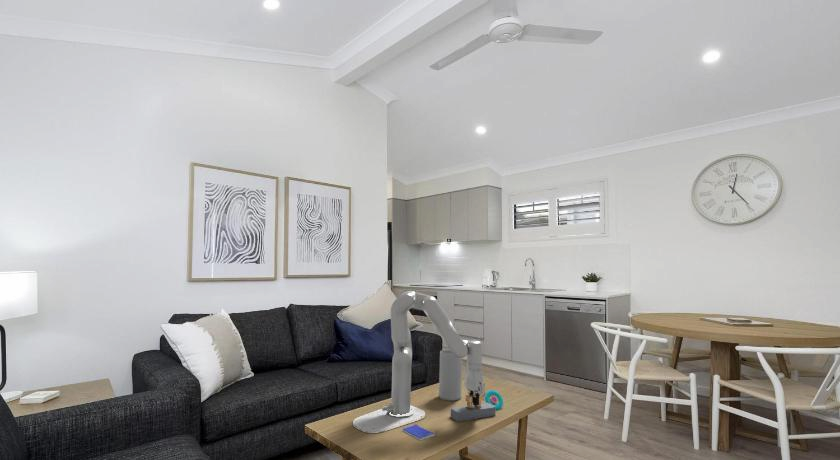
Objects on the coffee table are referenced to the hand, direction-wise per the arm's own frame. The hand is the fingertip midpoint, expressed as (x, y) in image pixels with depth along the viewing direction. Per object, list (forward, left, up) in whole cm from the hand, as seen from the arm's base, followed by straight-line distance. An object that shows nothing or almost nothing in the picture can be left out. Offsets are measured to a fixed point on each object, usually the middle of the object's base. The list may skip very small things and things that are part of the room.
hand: (473, 403), depth 209 cm
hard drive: (-35, -8, -7) cm, 36 cm away
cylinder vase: (+4, +29, -6) cm, 30 cm away
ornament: (+17, +6, -6) cm, 19 cm away
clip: (0, 0, -3) cm, 3 cm away
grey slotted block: (0, 0, -6) cm, 6 cm away
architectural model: (+22, +25, -7) cm, 34 cm away
